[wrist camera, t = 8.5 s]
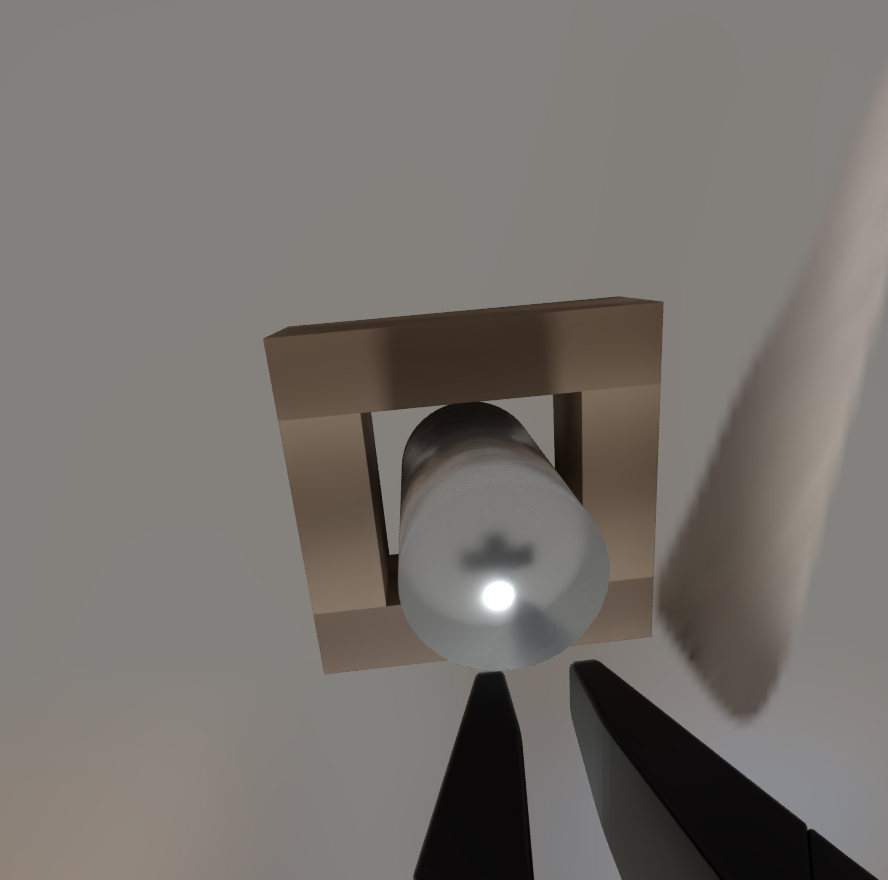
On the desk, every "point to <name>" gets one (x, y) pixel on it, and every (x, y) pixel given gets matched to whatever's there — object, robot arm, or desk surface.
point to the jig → (451, 382)
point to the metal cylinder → (493, 543)
